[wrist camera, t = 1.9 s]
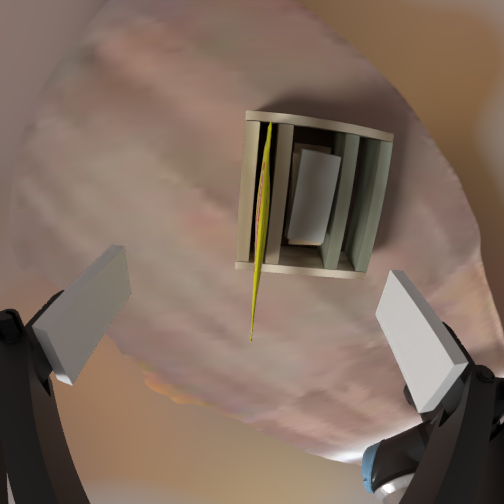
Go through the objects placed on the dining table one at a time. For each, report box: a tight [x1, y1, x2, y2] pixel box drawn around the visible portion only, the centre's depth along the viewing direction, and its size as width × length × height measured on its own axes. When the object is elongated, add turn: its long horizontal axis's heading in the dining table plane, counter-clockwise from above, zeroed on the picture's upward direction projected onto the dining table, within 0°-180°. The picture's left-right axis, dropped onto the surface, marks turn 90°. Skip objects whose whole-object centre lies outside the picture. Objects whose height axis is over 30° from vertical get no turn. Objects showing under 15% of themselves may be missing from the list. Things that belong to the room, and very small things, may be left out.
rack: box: [235, 110, 394, 279], centre depth 33 cm, size 16×18×6 cm
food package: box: [250, 120, 273, 341], centre depth 26 cm, size 15×1×20 cm, turn 176°
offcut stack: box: [283, 142, 341, 245], centre depth 33 cm, size 5×12×6 cm, turn 176°
